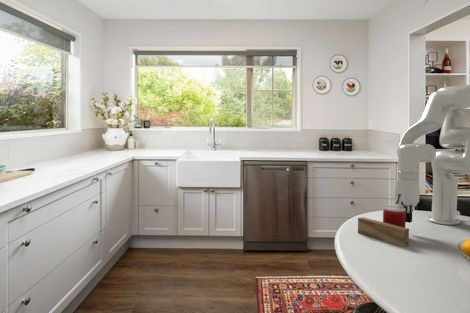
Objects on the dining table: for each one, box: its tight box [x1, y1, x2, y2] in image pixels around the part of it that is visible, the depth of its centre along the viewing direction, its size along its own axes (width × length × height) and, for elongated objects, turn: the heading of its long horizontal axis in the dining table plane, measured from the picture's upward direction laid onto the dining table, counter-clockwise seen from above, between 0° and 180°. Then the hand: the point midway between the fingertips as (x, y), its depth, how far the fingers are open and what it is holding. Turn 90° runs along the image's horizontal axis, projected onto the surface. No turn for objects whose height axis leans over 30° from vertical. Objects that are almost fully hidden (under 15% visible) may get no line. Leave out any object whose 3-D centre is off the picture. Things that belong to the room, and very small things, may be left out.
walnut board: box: [357, 216, 410, 247], centre depth 137 cm, size 3×20×6 cm, turn 31°
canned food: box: [382, 205, 407, 228], centre depth 140 cm, size 8×8×11 cm
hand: (407, 221), depth 145 cm, fingers closed
